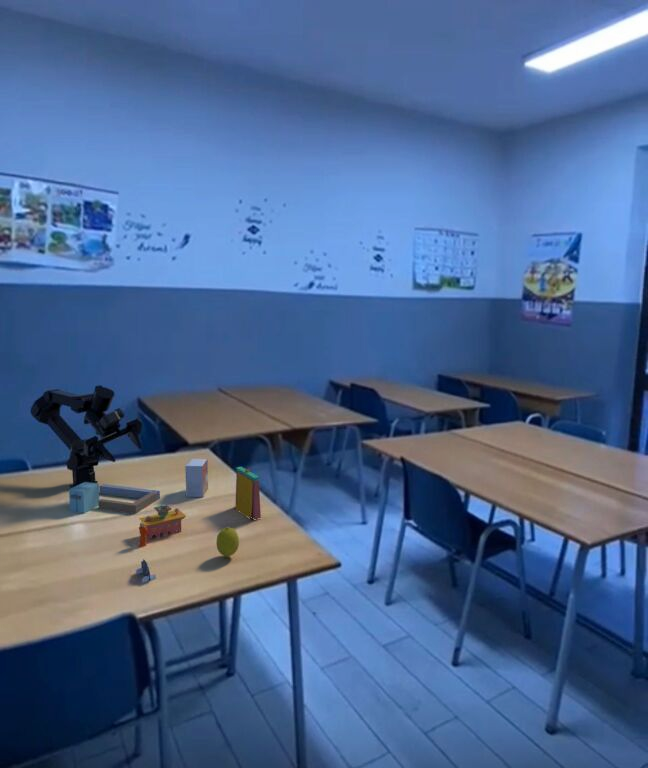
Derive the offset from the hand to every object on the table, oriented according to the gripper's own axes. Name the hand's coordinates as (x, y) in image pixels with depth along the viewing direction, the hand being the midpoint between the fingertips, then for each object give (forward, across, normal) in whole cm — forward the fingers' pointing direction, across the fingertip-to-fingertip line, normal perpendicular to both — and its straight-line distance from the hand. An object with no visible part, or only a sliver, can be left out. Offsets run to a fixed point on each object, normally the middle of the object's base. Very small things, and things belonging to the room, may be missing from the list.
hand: (128, 454), depth 176 cm
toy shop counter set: (+34, 0, -3) cm, 34 cm away
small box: (+18, +15, +11) cm, 26 cm away
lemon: (+51, -5, -16) cm, 54 cm away
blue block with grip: (+3, -16, +12) cm, 20 cm away
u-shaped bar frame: (+6, -6, +13) cm, 16 cm away
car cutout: (+47, -25, -19) cm, 57 cm away
